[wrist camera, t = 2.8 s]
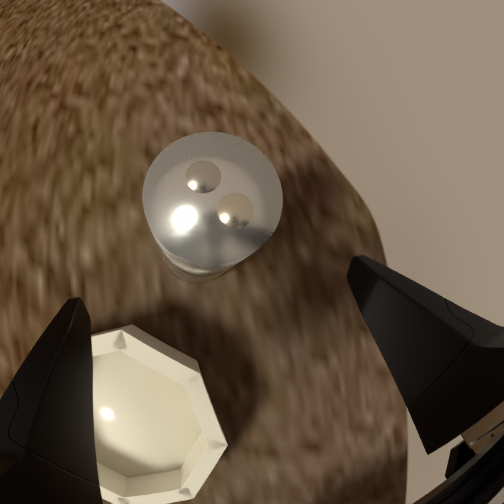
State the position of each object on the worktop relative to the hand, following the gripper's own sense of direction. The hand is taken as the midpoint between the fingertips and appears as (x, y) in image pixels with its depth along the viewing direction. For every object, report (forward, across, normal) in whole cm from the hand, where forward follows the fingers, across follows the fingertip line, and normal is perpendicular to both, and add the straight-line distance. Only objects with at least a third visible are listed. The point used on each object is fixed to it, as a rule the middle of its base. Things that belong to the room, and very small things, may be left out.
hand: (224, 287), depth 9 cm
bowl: (+2, +6, +12) cm, 13 cm away
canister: (+9, 0, +5) cm, 10 cm away
